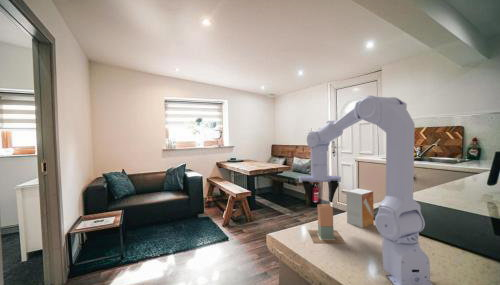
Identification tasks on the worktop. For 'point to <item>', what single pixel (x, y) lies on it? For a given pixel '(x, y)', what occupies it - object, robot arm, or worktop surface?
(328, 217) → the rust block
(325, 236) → the green block
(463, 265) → the worktop surface
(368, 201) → the small box
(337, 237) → the build board
